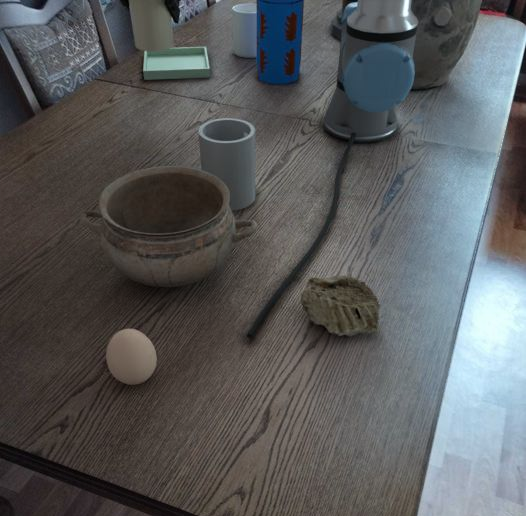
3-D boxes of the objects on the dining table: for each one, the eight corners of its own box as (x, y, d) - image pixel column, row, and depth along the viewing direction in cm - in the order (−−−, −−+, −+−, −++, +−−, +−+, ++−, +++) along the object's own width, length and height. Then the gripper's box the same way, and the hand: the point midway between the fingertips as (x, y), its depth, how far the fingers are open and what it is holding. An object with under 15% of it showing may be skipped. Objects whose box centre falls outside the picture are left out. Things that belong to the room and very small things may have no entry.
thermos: (300, 69, 141) (307, -50, 123) (298, 85, 133) (305, -39, 115) (258, 67, 141) (259, -51, 123) (254, 83, 134) (253, -41, 116)
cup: (195, 204, 95) (189, 137, 87) (216, 180, 101) (212, 114, 93) (243, 214, 93) (242, 147, 85) (262, 189, 99) (262, 123, 90)
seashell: (367, 360, 74) (390, 296, 77) (374, 343, 67) (398, 273, 70) (289, 333, 76) (314, 272, 79) (288, 313, 69) (315, 247, 72)
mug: (266, 44, 154) (267, 0, 146) (264, 59, 146) (264, 13, 138) (236, 43, 154) (235, -1, 147) (231, 58, 146) (230, 12, 138)
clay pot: (381, 58, 147) (402, -83, 125) (468, 72, 140) (506, -75, 119) (354, 87, 133) (373, -67, 111) (449, 104, 126) (489, -56, 104)
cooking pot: (72, 305, 77) (48, 231, 68) (111, 229, 90) (95, 159, 81) (250, 318, 75) (249, 244, 66) (263, 239, 88) (264, 168, 80)
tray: (210, 77, 136) (209, 68, 135) (144, 80, 135) (143, 71, 133) (206, 55, 148) (206, 46, 146) (145, 57, 146) (144, 48, 145)
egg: (131, 354, 70) (121, 310, 65) (169, 370, 68) (161, 326, 63) (102, 385, 67) (89, 340, 61) (141, 402, 65) (130, 358, 59)
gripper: (48, -49, 92) (107, 29, 114) (167, -42, 89) (203, 37, 111) (55, -94, 92) (112, -7, 114) (174, -89, 89) (209, 0, 111)
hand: (157, 15), depth 113 cm, fingers closed on jar, 8 cm apart
